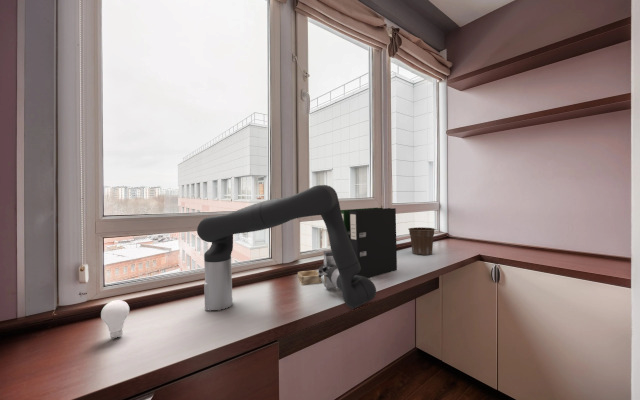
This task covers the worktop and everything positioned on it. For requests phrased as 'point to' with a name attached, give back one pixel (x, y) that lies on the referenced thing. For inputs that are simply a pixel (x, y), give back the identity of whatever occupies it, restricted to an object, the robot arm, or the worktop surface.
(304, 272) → the holder
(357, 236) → the lever arch files
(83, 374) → the worktop surface
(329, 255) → the grey rectangular block
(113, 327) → the light bulb
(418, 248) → the plant pot
